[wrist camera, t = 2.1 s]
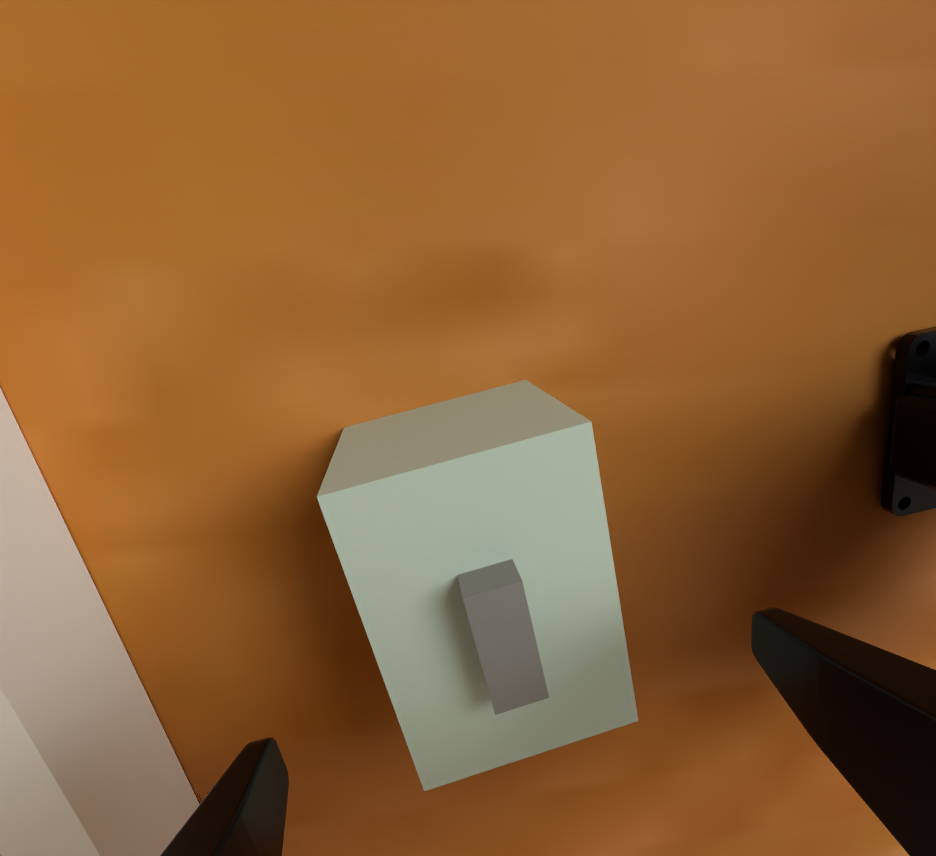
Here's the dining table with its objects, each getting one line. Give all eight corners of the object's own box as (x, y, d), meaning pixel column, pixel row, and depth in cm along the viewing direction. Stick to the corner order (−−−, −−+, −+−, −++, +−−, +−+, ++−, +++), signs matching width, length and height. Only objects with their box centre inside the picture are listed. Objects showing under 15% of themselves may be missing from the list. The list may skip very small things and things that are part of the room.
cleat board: (34, -516, 8) (-219, -1086, 5) (405, 773, 17) (407, 888, 14) (-577, -507, 7) (-1408, -1194, 4) (151, 843, 16) (89, 983, 13)
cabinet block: (524, 379, 14) (609, 432, 8) (567, 597, 16) (655, 750, 11) (344, 426, 14) (309, 515, 8) (415, 643, 16) (426, 827, 10)
